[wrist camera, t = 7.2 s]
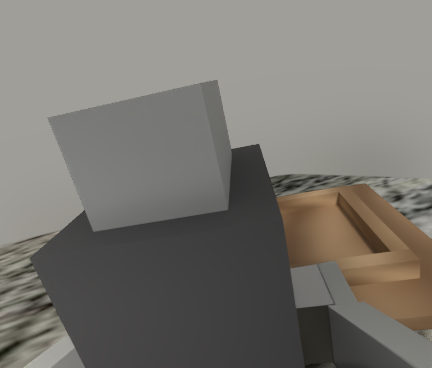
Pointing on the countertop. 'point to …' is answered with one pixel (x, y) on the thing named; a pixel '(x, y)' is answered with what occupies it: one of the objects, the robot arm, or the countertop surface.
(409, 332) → the robot arm
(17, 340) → the countertop surface
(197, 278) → the capped dark pillar
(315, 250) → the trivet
